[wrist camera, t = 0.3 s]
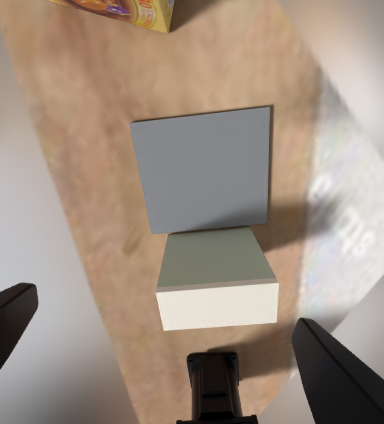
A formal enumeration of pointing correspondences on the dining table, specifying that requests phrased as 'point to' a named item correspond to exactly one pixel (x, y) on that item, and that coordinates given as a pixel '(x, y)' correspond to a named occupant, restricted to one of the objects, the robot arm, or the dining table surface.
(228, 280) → the slab
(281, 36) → the dining table surface
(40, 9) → the dining table surface
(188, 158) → the mat
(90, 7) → the candy box
